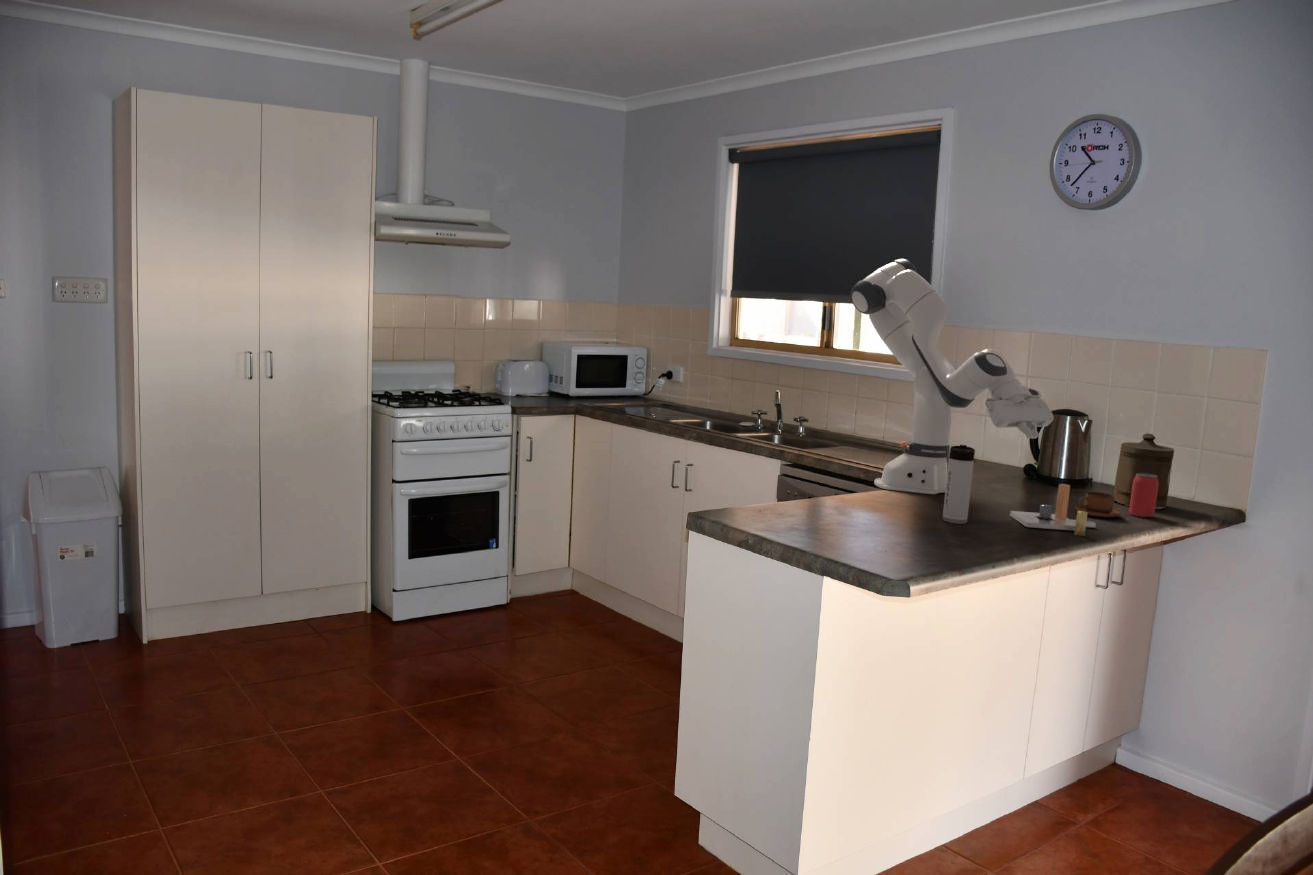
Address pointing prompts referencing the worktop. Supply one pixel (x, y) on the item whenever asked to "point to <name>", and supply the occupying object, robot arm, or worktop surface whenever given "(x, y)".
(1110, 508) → the cup and saucer
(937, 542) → the worktop surface
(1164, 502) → the wooden container
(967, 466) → the travel mug
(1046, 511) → the grey rectangular block
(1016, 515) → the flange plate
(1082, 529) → the brass dowel
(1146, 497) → the beer can
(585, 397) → the worktop surface
